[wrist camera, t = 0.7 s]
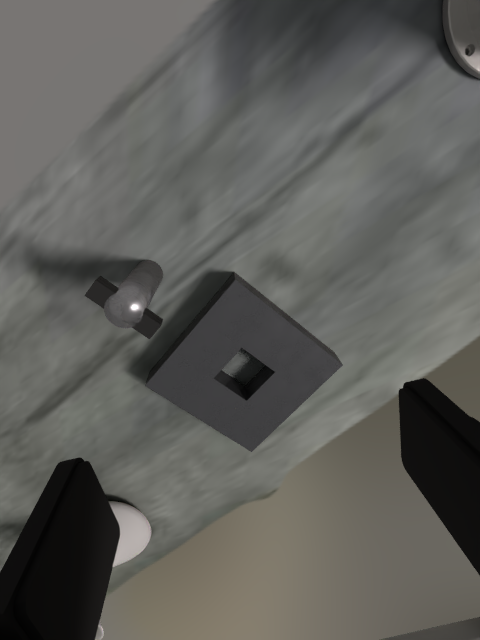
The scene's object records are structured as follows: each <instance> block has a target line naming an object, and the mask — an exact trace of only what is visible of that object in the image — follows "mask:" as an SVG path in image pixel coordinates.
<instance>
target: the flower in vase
mask: <svg viewBox="0 0 480 640" xmlns="http://www.w3.org/2000/svg"><path fill="white" fill-rule="evenodd" d="M108 502H109V504H110V506H111V508H112V510H113V513H114V515H115V517H116V519H117V521H118V523H119V527H120V538H119V543H118V547H117V551H116V555H115V559H114V563H113V567H114V566H117V565H119V564H122V563H124V562H126V561H129V560H130V559H132V558H134V557H135V556H137V555H138V554H139V553H141V552H142V551H143V550H144V548H145V547H146V545H147V544H148V542H149V540H150V537H151V527H150V524H149V522H148V520H147V519H146V517H145V516H144V515H143V513H141V512H140V511H139V510H138V509H136V508H135V507H133V506H131V505H128V504H125V503H121V502H115V501H108ZM113 567H112V568H113ZM103 633H104V632H103V628H102V625H101V622H100V621H99V625H98V629H97V633H96V637H95V640H101V639H102V637H103Z"/></svg>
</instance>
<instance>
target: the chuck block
mask: <svg viewBox="0 0 480 640" xmlns="http://www.w3.org/2000/svg"><path fill="white" fill-rule="evenodd" d="M241 348H243V349H244V350H246V351H247V352H248V353H250V354H251V355H253V356H254V357H255V358H257V359H258V360H259V361H261V362H262V363H264V364H265V365H266V366H265V367H264V368H263V369H262V370H261V371H260V372H259V373H258V374H257V375H256V376H255V377H254V378H253V379H252V380H251V381H250V382H249V383H248V384H247V385H246V386H243V385H242V384H240V383H239V382H238V381H236V380H235V379H233V378H232V377H230V376H229V375H227V374H226V373H225V372H223V371H222V369H223V368H224V367H225V365H226V364H227V363H228V362H229V361H230V360H231V359H232V358H233V357H234V356H235V355H236V354H237V352H238V351H239V350H240V349H241ZM341 366H342V363H341V362H340V360H339V358H338V357H337V355H336V354H335V352H333V351H332V350H331V349H330V348H328V347H327V346H326V345H325V344H323V343H322V342H321V341H320V340H318V339H317V338H316V337H315V336H313V335H312V334H311V333H310V332H308V331H307V330H306V329H305V328H303V327H302V326H301V325H300V324H298V323H297V322H296V321H295V320H293V319H292V318H291V317H290V316H288V315H287V314H286V313H285V312H283V311H282V310H281V309H280V308H279V307H277V306H276V305H275V304H274V303H272V302H271V301H270V300H269V299H267V298H266V297H265V296H264V295H262V294H261V293H260V292H259V291H257V290H256V289H255V288H254V287H252V286H251V285H250V284H249V283H247V282H246V281H245V280H244V279H242V278H241V277H240V276H239V275H237V274H236V273H235V272H234V273H233V274H232V275H231V276H230V278H229V279H228V280H227V281H226V282H225V284H224V285H223V286H222V287H221V288H220V289H219V291H218V292H217V293H216V294H215V295H214V297H213V298H212V299H211V300H210V301H209V302H208V304H207V305H206V306H205V307H204V308H203V309H202V311H201V312H200V313H199V314H198V315H197V317H196V318H195V319H194V320H193V321H192V322H191V324H190V325H189V326H188V327H187V328H186V330H185V331H184V332H183V333H182V334H181V335H180V337H179V338H178V339H177V340H176V341H175V343H174V344H173V345H172V346H171V347H170V348H169V350H168V351H167V352H166V353H165V354H164V356H163V357H162V358H161V359H160V360H159V361H158V363H157V364H156V365H155V366H154V367H153V369H152V370H151V371H150V373H149V376H148V378H147V381H146V384H145V386H147V387H148V388H150V389H151V390H153V391H155V392H156V393H158V394H159V395H161V396H163V397H164V398H166V399H168V400H169V401H171V402H172V403H174V404H176V405H177V406H179V407H180V408H182V409H184V410H185V411H187V412H188V413H190V414H192V415H193V416H195V417H196V418H198V419H200V420H201V421H203V422H204V423H206V424H208V425H209V426H211V427H212V428H214V429H216V430H217V431H219V432H220V433H222V434H224V435H225V436H227V437H229V438H230V439H232V440H233V441H235V442H237V443H238V444H240V445H241V446H243V447H245V448H246V449H248V450H249V451H251V452H252V451H253V450H254V449H255V448H256V447H257V446H258V445H259V444H260V443H261V442H262V441H264V440H265V439H266V438H267V437H268V436H269V435H270V434H271V433H272V432H273V431H274V430H275V429H276V428H277V427H278V426H279V425H280V424H281V423H282V422H283V421H285V420H286V419H287V418H288V417H289V416H290V415H291V414H292V413H293V412H294V411H295V410H296V409H297V408H298V407H299V406H300V405H301V404H302V403H303V402H304V401H306V400H307V399H308V398H309V397H310V396H311V395H312V394H313V393H314V392H315V391H316V390H317V389H318V388H319V387H320V386H321V385H322V384H323V383H324V382H325V381H327V380H328V379H329V378H330V377H331V376H332V375H333V374H334V373H335V372H336V371H337V370H338V369H339V368H340V367H341Z"/></svg>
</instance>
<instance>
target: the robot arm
mask: <svg viewBox="0 0 480 640" xmlns="http://www.w3.org/2000/svg"><path fill="white" fill-rule="evenodd" d="M443 27H444V33H445V38H446V41H447V44H448V47H449V49H450V52H451V54H452V55H453V57H454V58H455V60H456V61H457V63H458V64H459V65H460V66H461V67H462V68H463V69H464V70H465V71H466V72H467V73H469V74H471V75H473V76H474V77H476V78H478V79H480V0H443ZM465 52H466V54H465ZM399 412H400V435H401V457H402V462H403V465H404V468H405V470H406V471H407V473H408V474H409V476H410V477H411V478H412V480H413V481H414V483H415V484H416V485H417V487H418V488H419V490H420V491H421V492H422V494H423V495H424V497H425V498H426V499H427V501H428V502H429V504H430V505H431V507H432V508H433V510H434V511H435V512H436V514H437V515H438V517H439V518H440V520H441V521H442V522H443V524H444V525H445V527H446V528H447V530H448V531H449V532H450V534H451V535H452V536H453V538H454V539H455V541H456V542H457V544H458V545H459V547H460V548H461V549H462V551H463V552H464V554H465V555H466V556H467V558H468V559H469V561H470V562H471V564H472V565H473V567H474V568H475V569H476V571H477V572H478V573H479V575H480V422H479V421H477V420H476V419H474V418H472V417H469V416H468V415H467V414H466V413H465V412H464V411H463V410H461V409H460V408H459V407H458V406H457V405H455V403H453V402H452V401H451V400H450V399H449V398H448V397H447V396H445V395H444V394H443V393H442V392H441V391H440V390H438V388H436V387H435V386H434V385H433V384H432V383H431V382H430V381H428V380H427V379H424V378H423V379H419V380H414V381H410V382H406V383H404V386H403V388H402V389H400V390H399ZM119 538H120V527H119V523H118V521H117V519H116V517H115V515H114V513H113V510H112V508H111V506H110V504H109V502H108V500H107V498H106V496H105V493H104V491H103V489H102V487H101V485H100V483H99V481H98V479H97V476H96V474H95V472H94V470H93V468H92V466H91V464H90V462H88V461H85V462H84V460H83V459H82V458H75V459H71V460H67V461H62V462H60V463H58V465H57V466H56V468H55V470H54V472H53V474H52V476H51V477H50V479H49V481H48V483H47V485H46V487H45V489H44V491H43V493H42V494H41V496H40V498H39V500H38V502H37V504H36V506H35V508H34V510H33V511H32V513H31V515H30V517H29V519H28V521H27V523H26V525H25V527H24V528H23V530H22V532H21V534H20V536H19V538H18V540H17V542H16V544H15V545H14V547H13V549H12V551H11V553H10V555H9V557H8V559H7V561H6V562H5V564H4V566H3V568H2V570H1V572H0V640H95V637H96V633H97V629H98V625H99V621H100V617H101V613H102V608H103V604H104V600H105V596H106V592H107V588H108V584H109V580H110V575H111V571H112V567H113V563H114V559H115V555H116V551H117V547H118V543H119ZM381 640H480V617H479V618H473V619H469V620H464V621H459V622H454V623H450V624H446V625H441V626H437V627H433V628H429V629H424V630H420V631H415V632H411V633H407V634H403V635H398V636H394V637H389V638H385V639H381Z"/></svg>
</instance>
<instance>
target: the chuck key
mask: <svg viewBox="0 0 480 640" xmlns="http://www.w3.org/2000/svg"><path fill="white" fill-rule="evenodd" d="M162 278H163V271H162V269H161V267H160V266H159V265H158V264H157V263H156V262H154V261H151V260H144V261H142V262H140V263H139V264H138V265H137V266H136V267H135V268H134V269H133V271H132V272H131V273H130V274H129V275H128V276H127V277H126V279H125V280H124V281H123V282H122V283H121V284H120V285H119V287H118V288H117V287H116V286H114V285H113V284H112V283H110V282H109V281H107V280H106V279H104V278H103V277H102V276H100V277H99V278H97V279H96V280H95V282H94V283H93V285H92V286H91V287H90V289H89V290H88V292H87V293H86V294H85V296H86V297H88V298H89V299H90V300H92V301H93V302H95V303H96V304H98V305H99V306H101V307H102V308H104V311H105V315H106V317H107V319H108V320H109V321H110V322H111V323H112V324H114V325H115V326H118V327H121V328H130V327H132V328H134V329H135V330H137V331H138V332H140V333H141V334H143V335H144V336H146V337H147V338H149V339H150V338H151V337H152V336H153V334H154V333H155V332H156V331H157V330H158V328H159V327H160V326H161V324H162V321H163V319H162V318H160V317H159V316H157V315H156V314H154V313H153V312H152V311H150V310H149V309H147V307H148V305H149V304H150V302H151V300H152V298H153V296H154V294H155V292H156V290H157V288H158V286H159V285H160V283H161V281H162Z"/></svg>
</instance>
